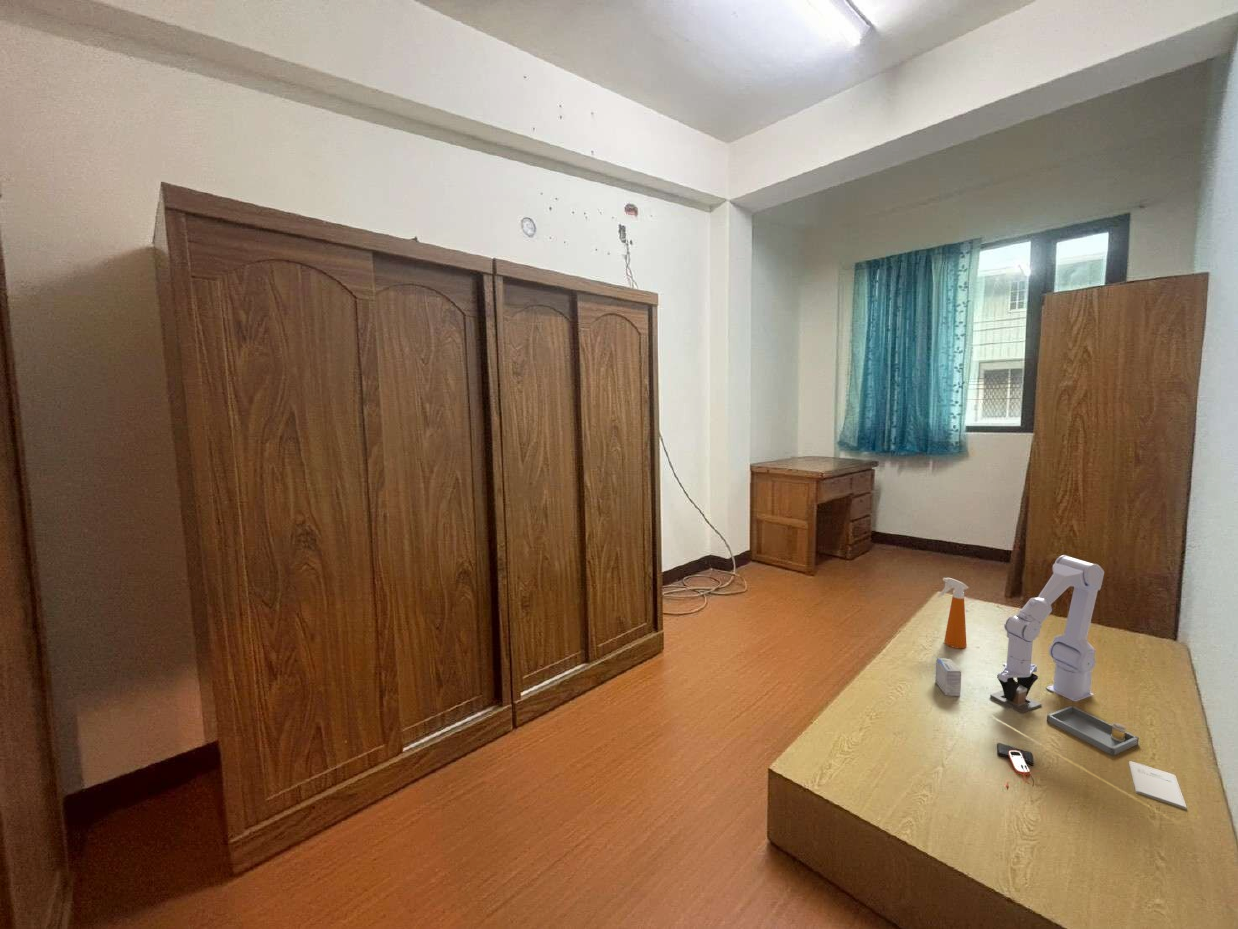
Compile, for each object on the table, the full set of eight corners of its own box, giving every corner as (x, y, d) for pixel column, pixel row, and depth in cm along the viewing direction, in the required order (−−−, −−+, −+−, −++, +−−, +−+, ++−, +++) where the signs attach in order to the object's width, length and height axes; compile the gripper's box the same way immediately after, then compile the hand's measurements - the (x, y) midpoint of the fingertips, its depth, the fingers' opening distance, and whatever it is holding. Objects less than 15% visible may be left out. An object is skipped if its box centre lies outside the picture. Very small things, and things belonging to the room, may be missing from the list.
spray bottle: (930, 638, 195) (934, 574, 191) (960, 639, 193) (964, 574, 189) (939, 648, 188) (943, 581, 184) (970, 649, 186) (975, 581, 182)
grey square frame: (1009, 691, 160) (1009, 688, 160) (1041, 707, 152) (1041, 704, 152) (990, 698, 157) (990, 694, 157) (1021, 715, 149) (1021, 711, 149)
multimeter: (1056, 811, 116) (1058, 798, 116) (992, 786, 124) (993, 774, 123) (1054, 766, 130) (1056, 754, 129) (997, 746, 137) (998, 735, 137)
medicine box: (960, 697, 158) (962, 671, 157) (944, 695, 159) (946, 670, 158) (949, 682, 166) (951, 658, 165) (934, 681, 167) (936, 657, 166)
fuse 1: (1012, 698, 157) (1014, 682, 156) (1025, 705, 153) (1027, 688, 153) (1004, 701, 156) (1006, 684, 155) (1017, 707, 152) (1019, 691, 151)
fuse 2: (1114, 735, 138) (1115, 722, 138) (1126, 741, 136) (1128, 727, 135) (1108, 737, 138) (1110, 724, 137) (1120, 743, 135) (1122, 730, 135)
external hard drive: (1135, 796, 119) (1128, 765, 129) (1186, 813, 114) (1175, 780, 124) (1136, 790, 119) (1128, 759, 129) (1187, 807, 114) (1176, 774, 123)
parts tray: (1071, 713, 149) (1071, 705, 149) (1137, 746, 135) (1138, 737, 135) (1046, 722, 145) (1047, 715, 145) (1112, 757, 131) (1113, 749, 131)
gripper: (1020, 645, 158) (1017, 684, 160) (989, 654, 154) (986, 695, 156) (1046, 655, 152) (1042, 697, 154) (1014, 666, 147) (1010, 708, 149)
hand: (1015, 697), depth 154 cm, fingers open, 6 cm apart
